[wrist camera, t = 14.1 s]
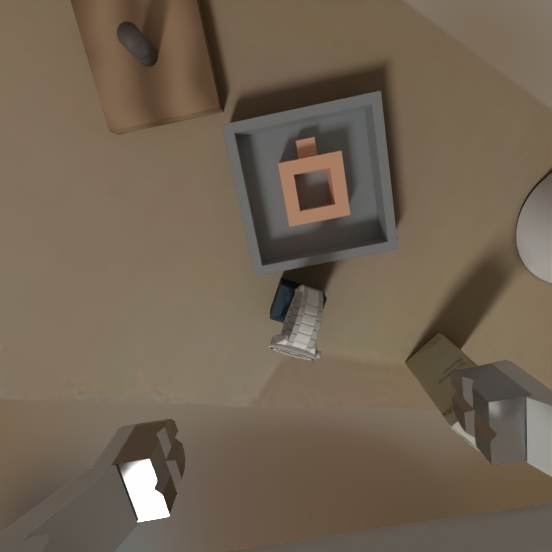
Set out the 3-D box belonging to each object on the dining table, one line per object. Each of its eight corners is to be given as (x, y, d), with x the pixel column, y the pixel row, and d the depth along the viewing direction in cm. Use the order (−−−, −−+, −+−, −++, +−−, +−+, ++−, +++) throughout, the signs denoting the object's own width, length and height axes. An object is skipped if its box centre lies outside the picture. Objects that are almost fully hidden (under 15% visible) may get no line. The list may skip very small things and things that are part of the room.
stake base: (195, -16, 33) (176, -65, 27) (223, 111, 36) (211, 94, 30) (82, 11, 34) (38, -30, 28) (118, 134, 37) (85, 122, 31)
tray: (371, 100, 36) (380, 90, 33) (387, 244, 40) (398, 248, 36) (227, 131, 37) (222, 124, 33) (257, 269, 41) (255, 276, 37)
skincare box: (438, 330, 42) (501, 383, 31) (461, 351, 43) (531, 410, 31) (402, 363, 44) (449, 427, 32) (425, 383, 44) (479, 453, 32)
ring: (333, 134, 36) (338, 129, 33) (344, 213, 38) (350, 215, 35) (274, 147, 37) (274, 143, 34) (288, 224, 39) (289, 226, 36)
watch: (265, 323, 42) (261, 367, 32) (285, 264, 40) (288, 290, 30) (307, 336, 43) (317, 383, 32) (328, 278, 41) (346, 308, 30)
